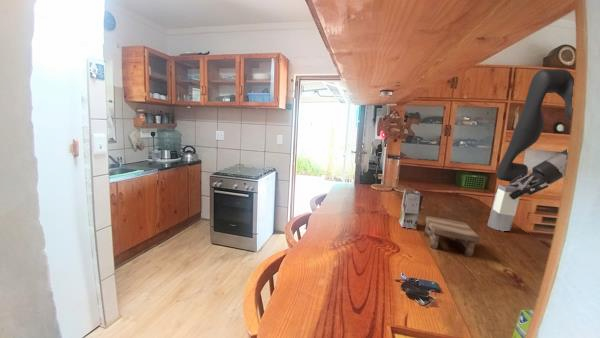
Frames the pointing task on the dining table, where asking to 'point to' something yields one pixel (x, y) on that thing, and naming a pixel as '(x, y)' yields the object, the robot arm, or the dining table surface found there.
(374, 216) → the dining table surface
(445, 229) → the footstool
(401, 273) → the dining table surface
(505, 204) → the cream faceted block
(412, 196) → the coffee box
